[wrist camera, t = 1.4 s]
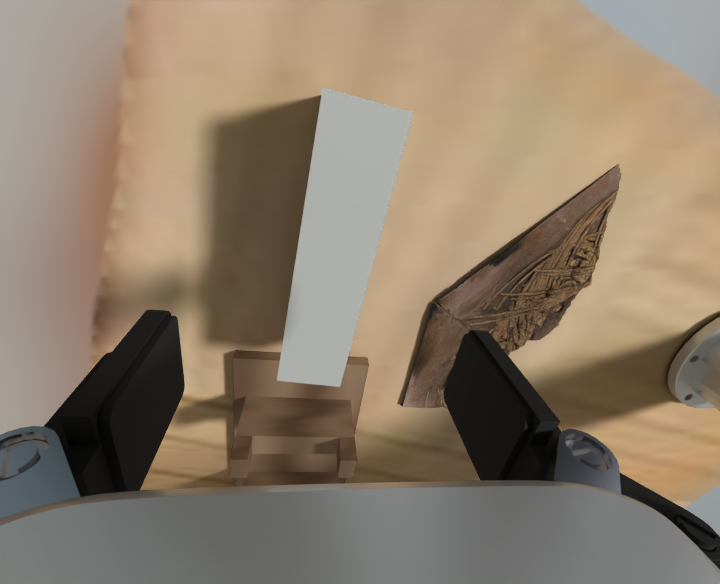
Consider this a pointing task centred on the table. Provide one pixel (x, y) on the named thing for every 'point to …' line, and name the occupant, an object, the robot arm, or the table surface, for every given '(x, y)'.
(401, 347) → the table surface
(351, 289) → the clay bar
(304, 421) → the wooden display stand
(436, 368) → the wooden fragment
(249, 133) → the table surface
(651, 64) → the table surface
